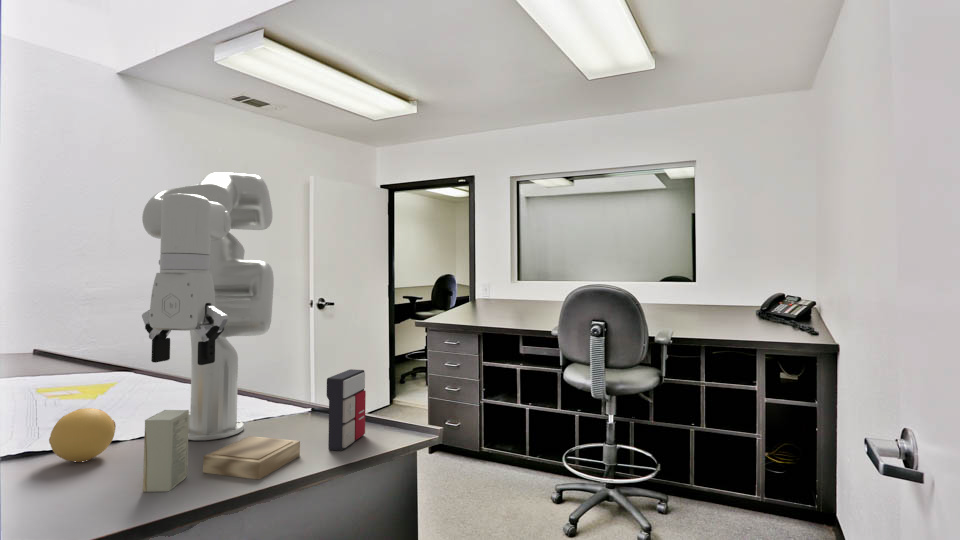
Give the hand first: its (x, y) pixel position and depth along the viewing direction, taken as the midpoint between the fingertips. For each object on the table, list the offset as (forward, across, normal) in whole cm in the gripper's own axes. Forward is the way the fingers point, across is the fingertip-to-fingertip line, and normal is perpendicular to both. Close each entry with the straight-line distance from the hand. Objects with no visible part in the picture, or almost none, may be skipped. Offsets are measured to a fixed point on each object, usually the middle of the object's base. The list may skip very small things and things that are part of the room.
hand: (183, 362), depth 85 cm
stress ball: (+21, -27, +4) cm, 34 cm away
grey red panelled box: (+21, +17, +27) cm, 38 cm away
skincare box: (+21, -2, -1) cm, 21 cm away
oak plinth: (+21, +6, +11) cm, 24 cm away
